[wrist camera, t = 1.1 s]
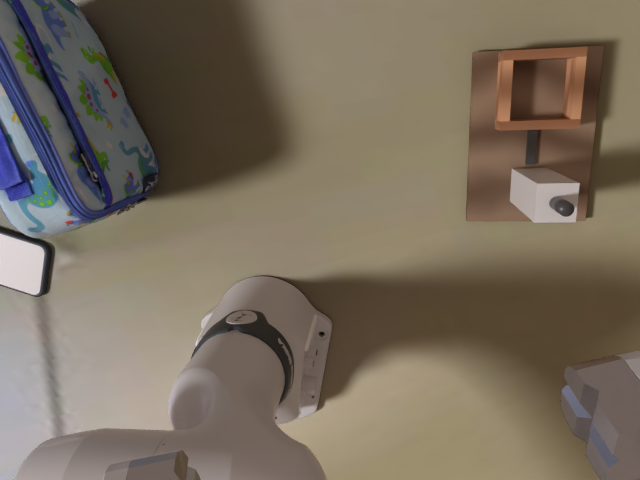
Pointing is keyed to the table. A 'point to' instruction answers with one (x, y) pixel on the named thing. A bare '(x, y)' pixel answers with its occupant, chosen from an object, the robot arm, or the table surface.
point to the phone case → (24, 263)
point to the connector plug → (544, 195)
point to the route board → (530, 123)
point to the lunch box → (64, 124)
